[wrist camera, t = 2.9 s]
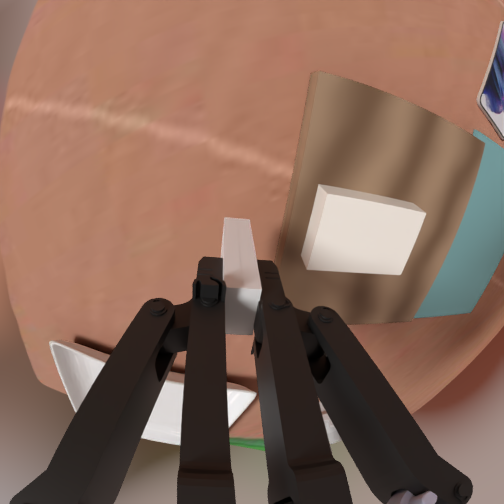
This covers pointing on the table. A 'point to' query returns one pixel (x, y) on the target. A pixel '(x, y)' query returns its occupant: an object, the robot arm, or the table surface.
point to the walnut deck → (379, 183)
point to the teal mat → (472, 242)
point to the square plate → (169, 400)
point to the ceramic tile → (360, 232)
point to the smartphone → (494, 86)
